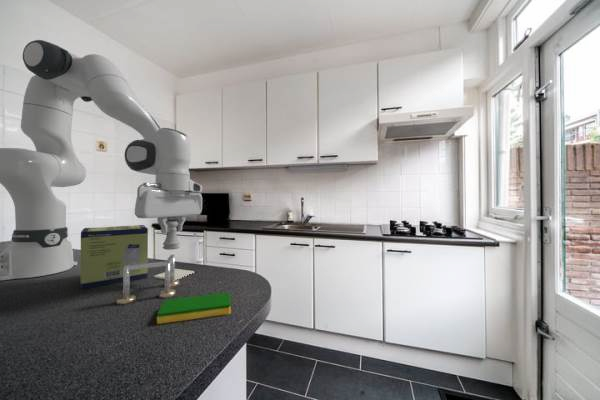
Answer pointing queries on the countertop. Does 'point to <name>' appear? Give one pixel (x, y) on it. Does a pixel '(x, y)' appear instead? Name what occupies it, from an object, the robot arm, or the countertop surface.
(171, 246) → the rook chess piece
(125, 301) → the angled post rail
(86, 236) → the protein box
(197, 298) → the dish sponge
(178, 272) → the coaster pad
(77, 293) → the countertop surface
